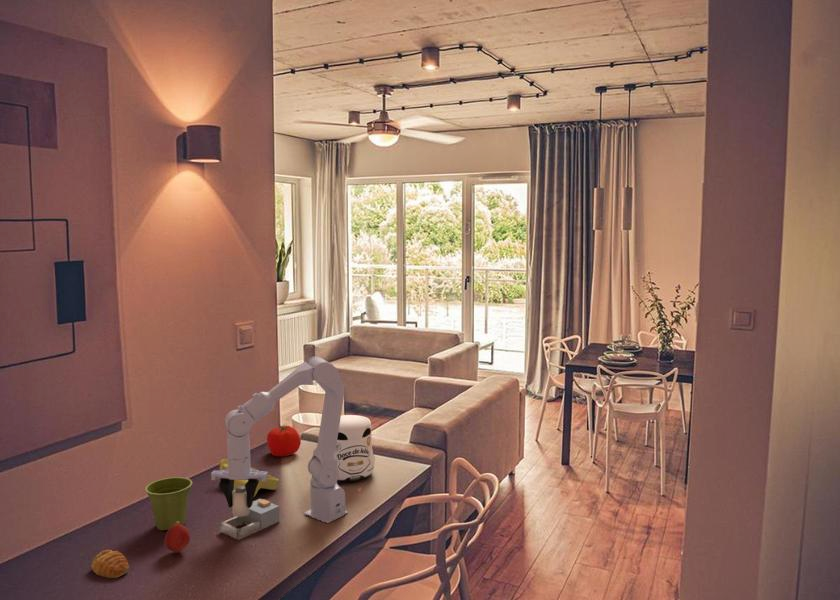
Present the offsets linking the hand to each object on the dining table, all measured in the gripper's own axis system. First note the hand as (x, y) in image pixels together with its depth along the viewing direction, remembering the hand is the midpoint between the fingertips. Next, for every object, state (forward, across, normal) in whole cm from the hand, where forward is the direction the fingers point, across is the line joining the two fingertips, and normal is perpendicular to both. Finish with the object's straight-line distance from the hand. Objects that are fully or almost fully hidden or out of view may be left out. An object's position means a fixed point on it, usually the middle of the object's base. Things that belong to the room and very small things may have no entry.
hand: (240, 506), depth 166 cm
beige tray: (+7, 0, 0) cm, 7 cm away
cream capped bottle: (+2, 0, 0) cm, 2 cm away
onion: (+7, +12, +12) cm, 18 cm away
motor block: (+7, -4, -5) cm, 9 cm away
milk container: (+7, -22, -39) cm, 45 cm away
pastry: (+7, +24, +20) cm, 32 cm away
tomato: (+7, +5, -57) cm, 58 cm away
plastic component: (+7, +8, -28) cm, 30 cm away
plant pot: (+7, +20, -2) cm, 22 cm away
